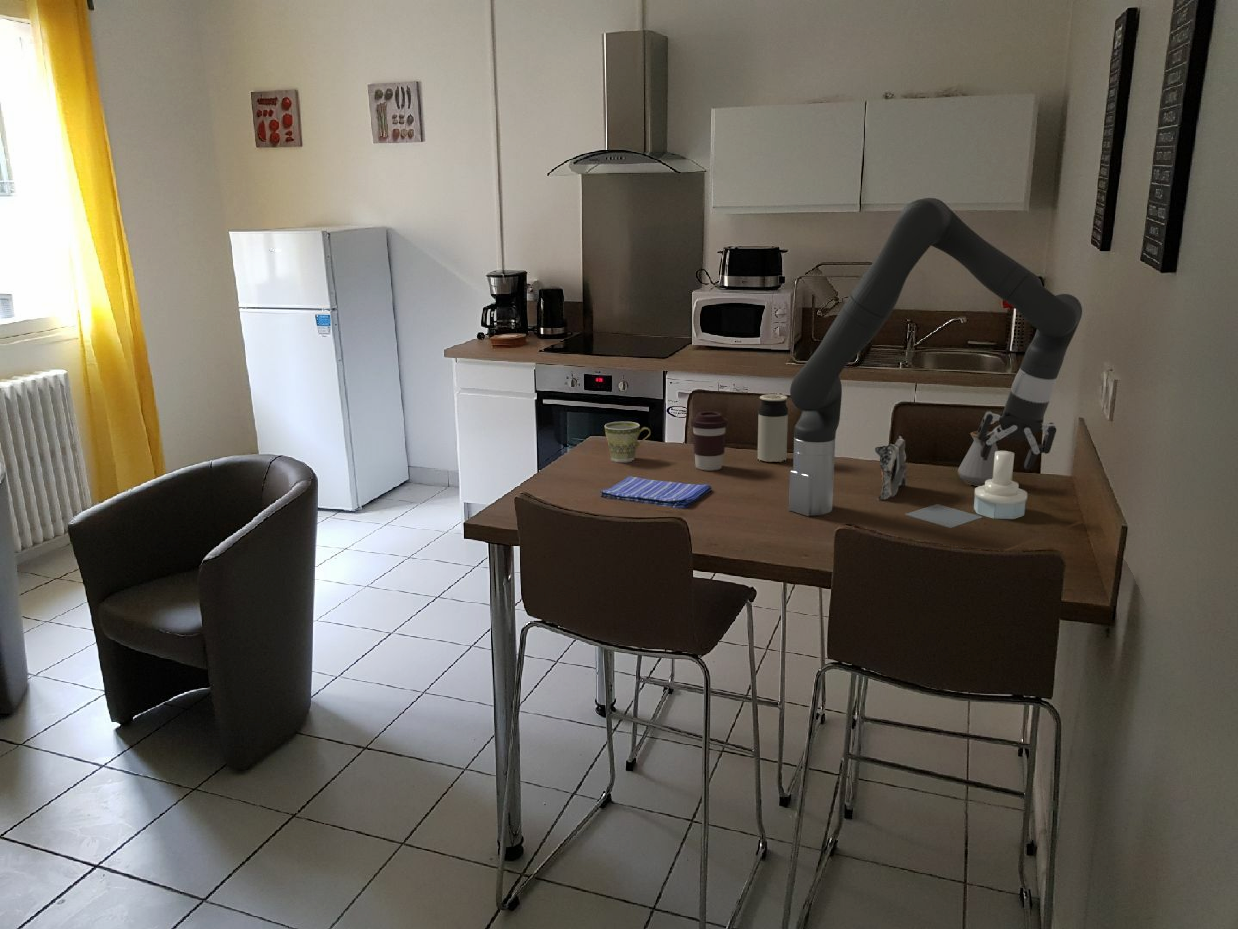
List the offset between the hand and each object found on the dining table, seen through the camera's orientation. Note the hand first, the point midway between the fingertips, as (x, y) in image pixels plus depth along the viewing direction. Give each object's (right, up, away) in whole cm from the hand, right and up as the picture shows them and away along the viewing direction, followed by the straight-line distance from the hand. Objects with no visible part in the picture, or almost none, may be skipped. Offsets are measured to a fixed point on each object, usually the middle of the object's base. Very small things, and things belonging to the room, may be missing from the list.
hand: (1005, 463), depth 191 cm
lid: (+6, -8, +16) cm, 19 cm away
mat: (-7, -12, +15) cm, 21 cm away
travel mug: (-38, +1, +66) cm, 76 cm away
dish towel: (-71, -8, +37) cm, 81 cm away
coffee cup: (-56, -1, +59) cm, 81 cm away
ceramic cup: (-78, +1, +69) cm, 104 cm away
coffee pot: (+9, -6, +36) cm, 38 cm away
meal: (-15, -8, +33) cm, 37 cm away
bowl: (+6, -11, +17) cm, 21 cm away
